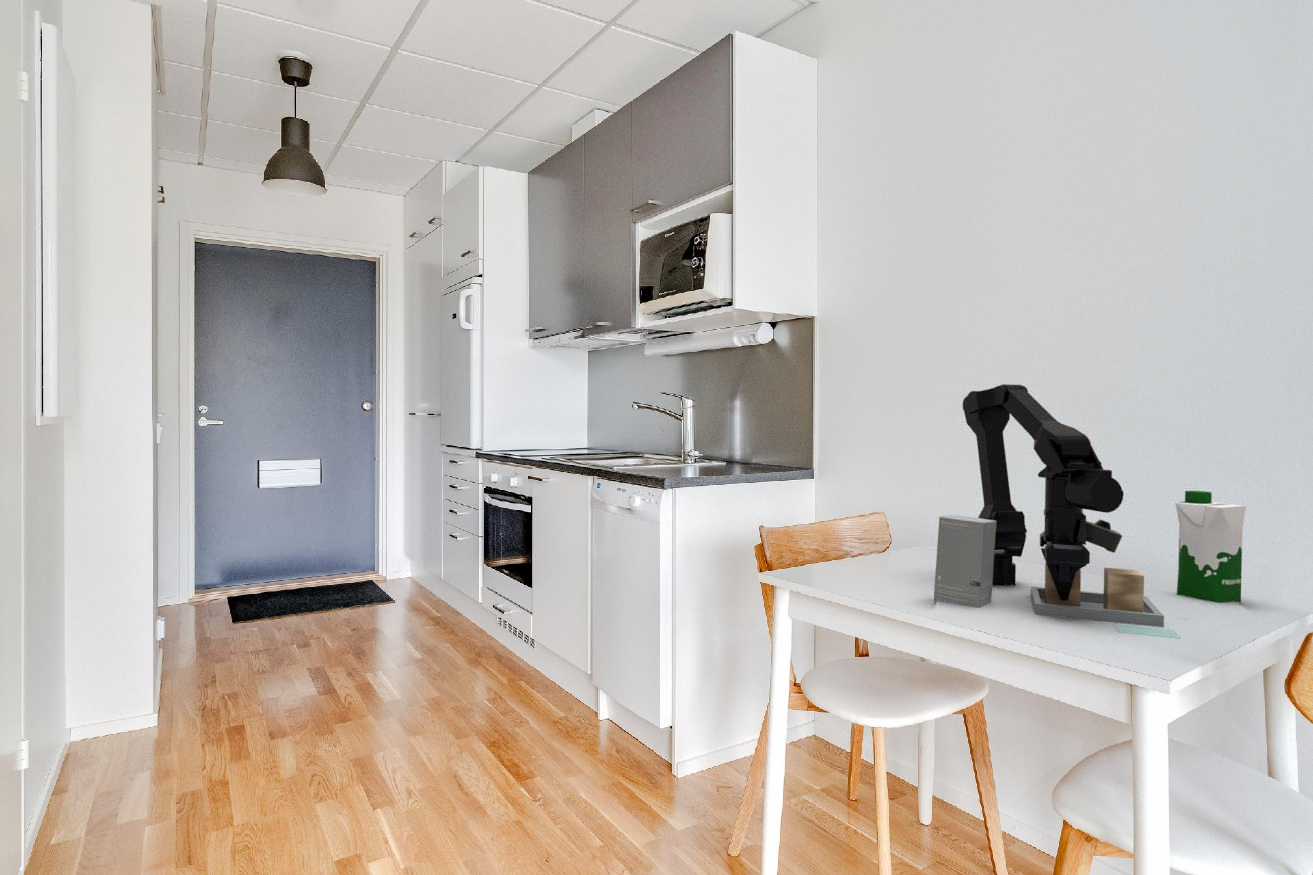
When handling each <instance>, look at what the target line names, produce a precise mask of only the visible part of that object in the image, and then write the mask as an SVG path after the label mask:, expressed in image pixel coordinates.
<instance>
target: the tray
mask: <svg viewBox="0 0 1313 875" xmlns="http://www.w3.org/2000/svg"><path fill="white" fill-rule="evenodd" d="M1030 598H1031V600H1030V601H1031V603H1032V607H1033V608H1032V609H1033V612H1034V614H1035V615H1040V616H1049V617H1051V616H1052V617H1061V618H1070V619H1071V618H1072V619H1079V620H1080V619H1082V620H1091V621H1101V622H1112V623H1120V624H1130V625H1140V626H1149V627H1150V626H1151V627H1158V628H1159V627H1160V628H1161V627H1163V628H1164V627H1165V616H1164V614H1163V613H1162V612H1161V611H1160V610H1159V608H1157V607H1156V606H1155V604H1154V603H1153V602H1152V601H1151V600H1150V599H1149V598H1148V597H1147V596H1144V603H1143V612H1132V611H1121V610H1111V609H1104V608H1103V604H1104V592H1094V591H1086V590H1085V591H1083V590H1080V607H1079V606H1068V605H1058V604H1047V603H1045V587H1037V586H1031V587H1030Z"/></svg>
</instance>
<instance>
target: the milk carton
mask: <svg viewBox="0 0 1313 875" xmlns="http://www.w3.org/2000/svg"><path fill="white" fill-rule="evenodd" d="M1212 496H1213V494H1212V492H1211V491H1205V490H1204V491H1202V490H1185V491H1184V501H1179V502H1175V503H1174V504H1175V508H1176V509H1175V510H1176V513H1177V519H1178V566H1177V568H1178V570H1177V583H1176V584H1177V586H1176V596H1182V597H1187V598H1194V599H1197V600H1202V601H1208V602H1212V603H1218V604H1219V603H1227V602H1232V601H1235V603H1237V604H1239V603H1238V602H1241V603H1242V566H1243V565H1242V564H1243V563H1242V561H1243V559H1242V558H1243V556H1242V555H1243V526H1244V522H1245V513H1246V507H1247V506H1246V505H1243V504H1241V505H1240V504H1232V503H1228V502H1217V501H1216V502H1214V501H1212V498H1213V497H1212Z"/></svg>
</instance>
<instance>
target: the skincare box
mask: <svg viewBox="0 0 1313 875" xmlns="http://www.w3.org/2000/svg"><path fill="white" fill-rule="evenodd" d="M996 523H997V521H995V520H988V519H981V518H978V517H975V516H966V515H957V514H949V515H948V514H947V515H940V516H939V519H938V531H937V532H938V533H937V544H936V546H937V549H936V560H935V577H934V589H933V590H934V592H933V602H934V604H937V602H943V603H949V604H952V605H954V604H955V605H960V606H967V607H973V608H978V609H979V608H981V607H982V608H983V607H984V606H987V605H988V604H989V603H991V602H992V596H993V585H992V582H993V566H994V551H995V535H996Z"/></svg>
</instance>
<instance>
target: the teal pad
mask: <svg viewBox="0 0 1313 875" xmlns="http://www.w3.org/2000/svg"><path fill="white" fill-rule="evenodd" d="M1112 625H1113V627H1114V628H1115V630H1116V631H1117V633H1121V634H1122V633H1123V634H1124V633H1125V634H1131V635H1133V634H1134V635H1143V636H1150V637H1151V636H1152V637H1162V638H1170V639H1179V640H1181V639H1182V638H1181V636H1180V635H1179V634H1178V633H1177V632H1176V631H1175V630H1174V629H1168V628H1161V627H1160V628H1159V627H1150V626H1149V627H1148V626H1141V625H1140V626H1138V625H1131V624H1130V625H1128V624H1121V623H1120V624H1118V623H1113V624H1112Z"/></svg>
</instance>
